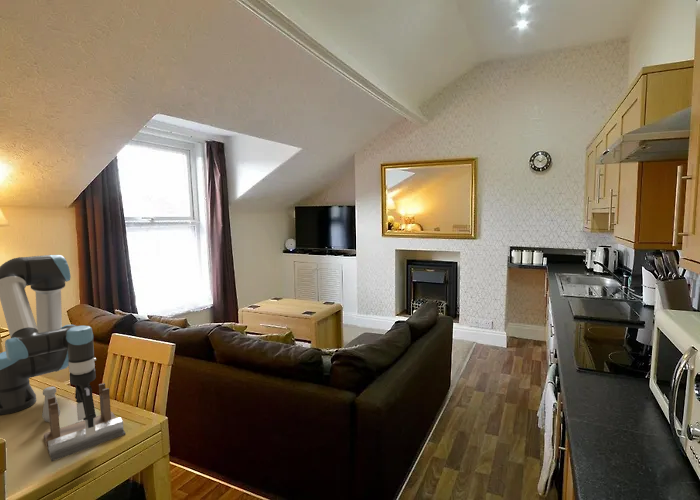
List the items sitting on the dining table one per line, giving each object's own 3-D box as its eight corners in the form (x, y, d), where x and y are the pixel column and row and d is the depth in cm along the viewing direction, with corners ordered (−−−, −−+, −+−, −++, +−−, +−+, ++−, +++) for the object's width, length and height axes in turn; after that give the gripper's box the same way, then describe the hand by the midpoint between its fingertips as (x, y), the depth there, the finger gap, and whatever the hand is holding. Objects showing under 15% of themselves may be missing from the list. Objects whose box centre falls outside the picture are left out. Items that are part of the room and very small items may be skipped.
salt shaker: (50, 424, 151) (48, 392, 150) (38, 422, 152) (35, 390, 151) (64, 416, 157) (62, 385, 155) (52, 414, 158) (50, 384, 156)
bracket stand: (43, 437, 143) (40, 399, 141) (112, 415, 158) (109, 380, 156) (47, 447, 137) (43, 408, 135) (117, 422, 152) (115, 387, 150)
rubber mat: (47, 448, 136) (47, 447, 136) (118, 424, 151) (118, 423, 151) (51, 461, 129) (51, 459, 129) (125, 434, 145) (125, 432, 145)
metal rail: (48, 450, 134) (47, 441, 134) (120, 425, 149) (119, 417, 149) (50, 455, 131) (49, 446, 131) (123, 429, 146) (122, 421, 146)
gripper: (103, 378, 131) (107, 437, 134) (87, 357, 149) (90, 409, 151) (76, 385, 126) (81, 447, 128) (63, 362, 143) (67, 416, 146)
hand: (86, 426), depth 140 cm, fingers open, 13 cm apart
